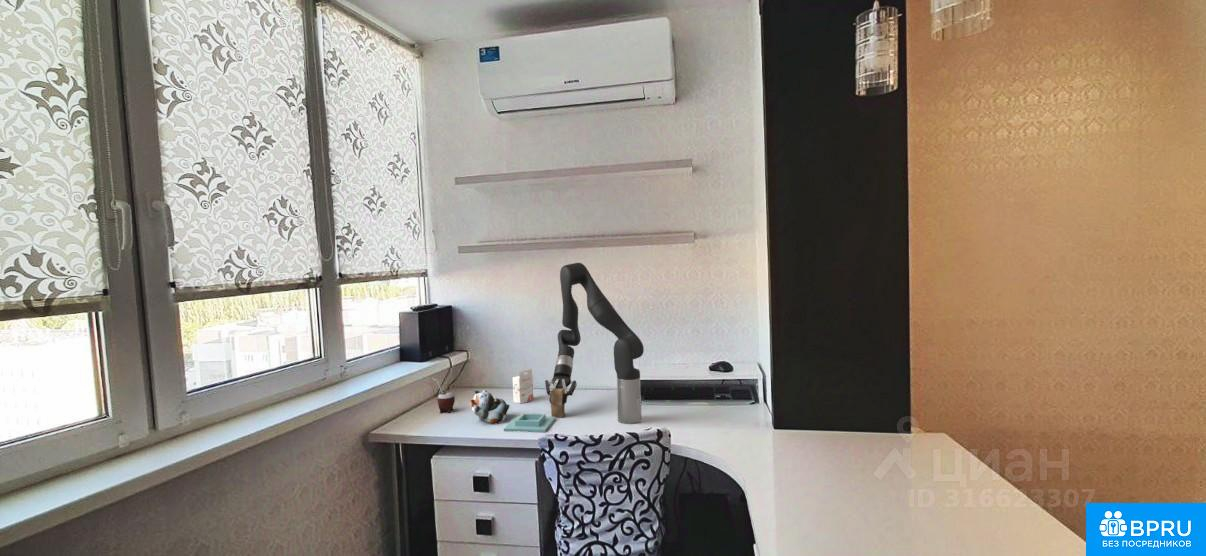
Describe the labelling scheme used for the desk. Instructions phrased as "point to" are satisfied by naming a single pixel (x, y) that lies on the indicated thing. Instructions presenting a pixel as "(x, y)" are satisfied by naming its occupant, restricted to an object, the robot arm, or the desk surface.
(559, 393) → the walnut block
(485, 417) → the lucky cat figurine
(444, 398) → the mate gourd
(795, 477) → the desk surface
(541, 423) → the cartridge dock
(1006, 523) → the desk surface
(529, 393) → the ink cartridge box
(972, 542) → the desk surface
